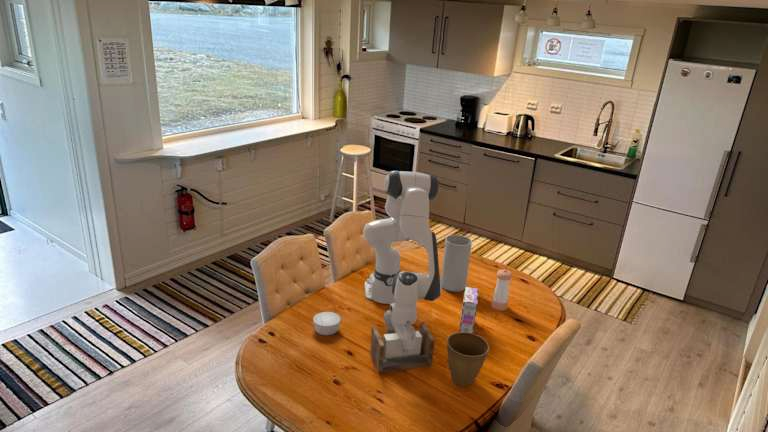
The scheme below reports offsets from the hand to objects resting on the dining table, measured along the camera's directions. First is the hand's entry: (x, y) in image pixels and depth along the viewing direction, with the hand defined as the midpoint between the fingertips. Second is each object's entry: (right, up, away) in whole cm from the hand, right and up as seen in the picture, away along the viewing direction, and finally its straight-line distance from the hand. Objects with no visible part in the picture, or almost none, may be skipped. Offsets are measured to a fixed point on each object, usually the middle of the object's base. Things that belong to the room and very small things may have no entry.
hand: (401, 346), depth 203 cm
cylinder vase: (+27, +15, +61) cm, 68 cm away
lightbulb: (-4, +1, +19) cm, 19 cm away
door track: (0, -6, +2) cm, 6 cm away
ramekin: (-31, +2, +19) cm, 36 cm away
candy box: (+29, +1, +26) cm, 39 cm away
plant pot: (+22, -11, -7) cm, 26 cm away
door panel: (0, -5, +2) cm, 5 cm away
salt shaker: (+47, +7, +45) cm, 66 cm away
